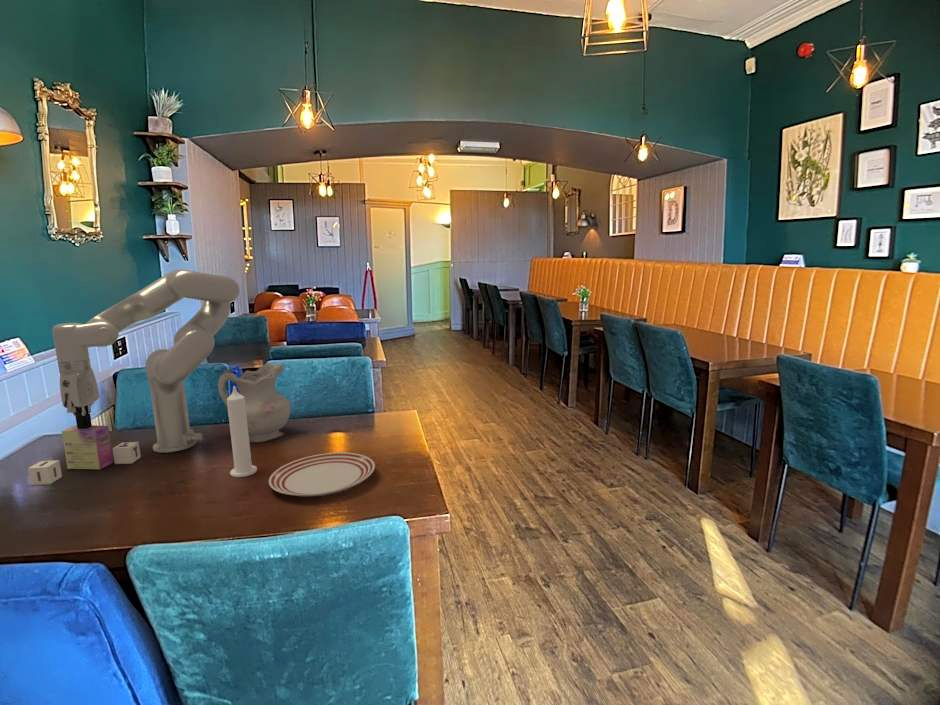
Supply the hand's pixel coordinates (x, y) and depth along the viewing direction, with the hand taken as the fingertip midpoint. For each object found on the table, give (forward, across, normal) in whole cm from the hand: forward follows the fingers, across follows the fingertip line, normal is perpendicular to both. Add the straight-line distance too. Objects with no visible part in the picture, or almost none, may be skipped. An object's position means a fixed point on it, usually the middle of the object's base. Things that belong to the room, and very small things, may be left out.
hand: (84, 427), depth 162 cm
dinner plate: (+12, -20, -72) cm, 76 cm away
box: (+12, 0, 0) cm, 12 cm away
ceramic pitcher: (+12, +19, -43) cm, 49 cm away
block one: (+12, -10, +6) cm, 17 cm away
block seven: (+12, +3, -9) cm, 15 cm away
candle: (+12, -11, -48) cm, 51 cm away
